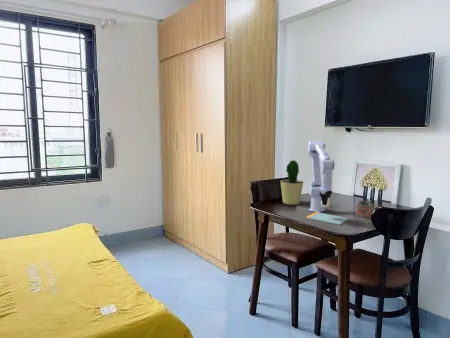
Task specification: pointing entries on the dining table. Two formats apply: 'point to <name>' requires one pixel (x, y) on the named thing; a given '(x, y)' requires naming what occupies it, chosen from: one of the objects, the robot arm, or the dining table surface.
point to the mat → (327, 218)
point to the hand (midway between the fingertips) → (325, 204)
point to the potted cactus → (292, 185)
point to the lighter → (363, 209)
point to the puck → (326, 204)
